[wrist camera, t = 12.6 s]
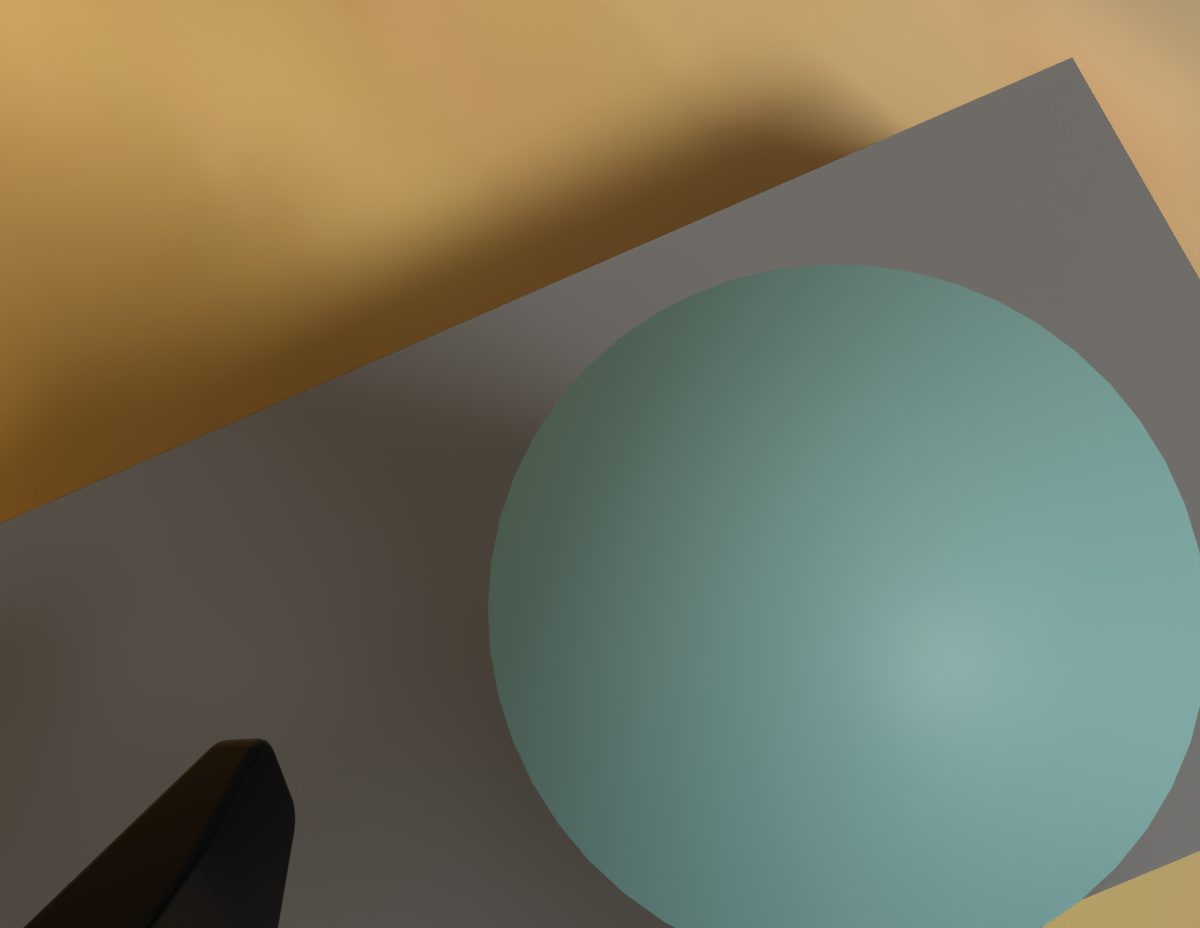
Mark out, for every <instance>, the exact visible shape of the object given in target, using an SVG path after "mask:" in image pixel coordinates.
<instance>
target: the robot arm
mask: <svg viewBox="0 0 1200 928" xmlns="http://www.w3.org/2000/svg"><path fill="white" fill-rule="evenodd" d="M294 831H295V807H294V802H293V799H292V796H291V794H290V791H289V788H288V786H287V783H286V781H285V778H284V775H283V773H282V770H281V768H280V765H279V762H278V760H277V757H276V755H275V752H274V750H273V748H272V746H271V745H270V744H269V743H268V742H267V741H266V740H264V739H260V738H257V739H233V740H223V741H220V742H218V743H216V744H215V745H213V746H212V747H211V748H210V749H208V750H207V751H206V752H205V753H204V754H203V755H202V756H201V757H200V758H199V759H198V760H197V761H196V762H195V763H194V764H193V765H192V766H191V767H190V768H189V769H188V770H187V771H186V772H185V773H183V774H182V775H181V776H180V777H179V778H178V779H177V780H176V781H175V782H174V783H173V784H172V785H171V786H170V787H169V788H168V789H167V790H166V791H165V792H164V793H163V794H162V795H161V796H160V797H159V798H157V799H156V800H155V801H154V802H153V803H152V804H151V805H150V806H149V807H148V808H147V809H146V810H145V811H144V812H143V813H142V814H141V815H140V816H139V817H138V818H137V819H136V820H135V821H134V822H132V823H131V824H130V825H129V826H128V827H127V828H126V829H125V830H124V831H123V832H122V833H121V834H120V835H119V836H118V837H117V838H116V839H115V840H114V841H113V842H112V843H111V844H110V845H109V846H108V847H106V848H105V849H104V850H103V851H102V852H101V853H100V854H99V855H98V856H97V857H96V858H95V859H94V860H93V861H92V862H91V863H90V864H89V865H88V866H87V867H86V868H85V869H84V870H83V871H82V872H80V873H79V874H78V875H77V876H76V877H75V878H74V879H73V880H72V881H71V882H70V883H69V884H68V885H67V886H66V887H65V888H64V889H63V890H62V891H61V892H60V893H59V894H58V895H57V896H56V897H54V898H53V899H52V900H51V901H50V902H49V903H48V904H47V905H46V906H45V907H44V908H43V909H42V910H41V911H40V912H39V913H38V914H37V915H36V916H35V917H34V918H33V919H32V920H31V921H30V922H28V923H27V924H26V925H25V926H24V927H23V928H278V926H279V920H280V914H281V909H282V903H283V897H284V891H285V885H286V879H287V873H288V867H289V861H290V855H291V849H292V844H293V838H294Z"/></svg>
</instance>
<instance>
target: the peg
mask: <svg viewBox="0 0 1200 928" xmlns="http://www.w3.org/2000/svg"><path fill="white" fill-rule="evenodd" d="M488 618H489V636H490V653H491V658H492V663H493V669H494V674H495V680H496V685H497V691H498V696H499V699H500V703H501V706H502V709H503V712H504V715H505V718H506V721H507V725H508V728H509V731H510V734H511V737H512V740H513V742H514V745H515V747H516V749H517V751H518V753H519V755H520V757H521V760H522V762H523V764H524V766H525V768H526V770H527V772H528V775H529V777H530V779H531V781H532V783H533V785H534V786H535V788H536V789H537V791H538V793H539V794H540V796H541V797H542V799H543V801H544V802H545V804H546V805H547V807H548V808H549V810H550V812H551V813H552V815H553V816H554V818H555V820H556V821H557V823H558V824H559V825H560V826H561V828H562V829H563V830H564V831H565V832H566V834H567V835H568V836H569V837H570V838H571V840H572V841H573V842H574V843H575V845H576V846H577V847H578V848H579V849H580V851H581V852H582V853H583V854H584V855H585V857H586V858H587V859H588V860H589V861H590V862H591V863H592V864H593V865H594V866H595V867H596V868H597V869H599V870H600V871H601V872H602V873H603V874H604V875H605V876H606V877H607V878H608V879H609V880H610V881H611V882H612V883H614V884H615V885H616V886H617V887H618V888H619V889H620V890H621V891H622V892H623V893H624V894H626V895H627V896H629V897H630V898H631V899H633V900H634V901H636V902H637V903H638V904H640V905H641V906H643V907H644V908H645V909H647V910H648V911H650V912H651V913H652V914H654V915H655V916H657V917H658V918H659V919H661V920H662V921H664V922H666V923H667V924H669V925H671V926H673V927H675V928H1041V927H1043V926H1044V925H1046V924H1047V923H1049V922H1050V921H1052V920H1053V919H1054V918H1056V917H1057V916H1059V915H1060V914H1062V913H1063V912H1065V911H1066V910H1067V909H1069V908H1070V907H1072V906H1073V905H1075V904H1076V903H1078V902H1079V901H1080V900H1081V899H1083V898H1084V897H1085V896H1086V895H1087V894H1088V893H1089V892H1090V891H1091V890H1092V889H1093V888H1094V887H1096V886H1097V885H1098V884H1099V883H1100V882H1101V881H1102V880H1103V879H1104V878H1105V877H1106V876H1107V875H1108V874H1110V873H1111V872H1112V871H1113V870H1114V869H1115V868H1116V867H1117V866H1118V864H1119V863H1120V862H1121V861H1122V859H1123V858H1124V857H1125V856H1126V855H1127V853H1128V852H1129V851H1130V850H1131V848H1132V847H1133V846H1134V845H1135V843H1136V842H1137V841H1138V840H1139V838H1140V837H1141V836H1142V835H1143V834H1144V832H1145V831H1146V830H1147V828H1148V827H1149V825H1150V823H1151V822H1152V820H1153V818H1154V817H1155V815H1156V813H1157V811H1158V810H1159V808H1160V806H1161V805H1162V803H1163V801H1164V800H1165V798H1166V796H1167V795H1168V793H1169V791H1170V790H1171V788H1172V786H1173V783H1174V781H1175V779H1176V776H1177V774H1178V771H1179V769H1180V767H1181V764H1182V762H1183V759H1184V757H1185V755H1186V752H1187V750H1188V747H1189V745H1190V743H1191V739H1192V735H1193V731H1194V727H1195V723H1196V719H1197V715H1198V712H1199V708H1200V553H1199V549H1198V545H1197V542H1196V539H1195V536H1194V532H1193V529H1192V526H1191V522H1190V519H1189V516H1188V513H1187V509H1186V506H1185V503H1184V501H1183V499H1182V497H1181V495H1180V492H1179V490H1178V488H1177V486H1176V484H1175V481H1174V479H1173V477H1172V475H1171V473H1170V470H1169V468H1168V466H1167V464H1166V462H1165V460H1164V458H1163V457H1162V455H1161V453H1160V452H1159V450H1158V449H1157V447H1156V445H1155V444H1154V442H1153V441H1152V439H1151V437H1150V436H1149V434H1148V433H1147V431H1146V429H1145V428H1144V426H1143V425H1142V423H1141V421H1140V420H1139V419H1138V418H1137V416H1136V415H1135V414H1134V413H1133V411H1132V410H1131V409H1130V408H1129V406H1128V405H1127V404H1126V403H1125V402H1124V400H1123V399H1122V398H1121V397H1120V395H1119V394H1118V393H1117V392H1116V391H1115V389H1114V388H1113V387H1112V386H1111V384H1110V383H1109V382H1108V381H1106V380H1105V379H1104V378H1103V377H1102V376H1101V375H1100V374H1099V373H1098V372H1097V371H1096V370H1095V369H1094V368H1093V367H1092V366H1091V365H1090V364H1089V363H1088V362H1086V361H1085V360H1084V359H1083V358H1082V357H1081V356H1080V355H1079V354H1078V353H1077V352H1076V351H1075V350H1073V349H1072V348H1071V347H1069V346H1068V345H1066V344H1065V343H1064V342H1062V341H1061V340H1060V339H1058V338H1057V337H1056V336H1054V335H1053V334H1052V333H1050V332H1049V331H1047V330H1046V329H1045V328H1043V327H1042V326H1041V325H1039V324H1038V323H1036V322H1034V321H1033V320H1031V319H1029V318H1027V317H1025V316H1024V315H1022V314H1020V313H1018V312H1016V311H1015V310H1013V309H1011V308H1009V307H1008V306H1006V305H1004V304H1002V303H1000V302H999V301H997V300H994V299H992V298H989V297H987V296H984V295H982V294H979V293H977V292H974V291H972V290H970V289H967V288H965V287H962V286H960V285H957V284H955V283H951V282H947V281H944V280H940V279H936V278H933V277H929V276H925V275H922V274H918V273H914V272H910V271H903V270H896V269H889V268H882V267H875V266H868V265H823V264H821V265H811V266H802V267H793V268H783V269H776V270H771V271H767V272H763V273H758V274H754V275H750V276H746V277H741V278H737V279H733V280H730V281H728V282H725V283H722V284H720V285H717V286H714V287H712V288H709V289H706V290H703V291H701V292H698V293H695V294H693V295H691V296H689V297H687V298H685V299H683V300H681V301H679V302H677V303H675V304H673V305H672V306H670V307H668V308H666V309H664V310H662V311H660V312H658V313H656V314H654V315H653V316H651V317H650V318H648V319H647V320H645V321H644V322H643V323H641V324H640V325H638V326H637V327H635V328H634V329H632V330H631V331H630V332H628V333H627V334H625V335H624V336H622V337H621V338H619V339H618V340H617V341H616V342H615V343H614V344H613V345H611V346H610V347H609V348H608V349H607V350H606V351H605V352H604V353H602V354H601V355H600V356H599V357H598V358H597V359H596V360H595V361H594V362H592V363H591V364H590V365H589V366H588V367H587V368H586V369H585V370H584V371H583V372H582V374H581V375H580V376H579V377H578V378H577V379H576V380H575V382H574V383H573V384H572V385H571V386H570V387H569V389H568V390H567V391H566V392H565V393H564V394H563V396H562V397H561V398H560V399H559V400H558V401H557V403H556V404H555V406H554V407H553V409H552V410H551V412H550V413H549V415H548V416H547V418H546V419H545V421H544V423H543V424H542V426H541V427H540V429H539V430H538V432H537V433H536V435H535V436H534V438H533V440H532V442H531V444H530V446H529V448H528V450H527V452H526V454H525V456H524V458H523V460H522V462H521V464H520V466H519V468H518V470H517V472H516V474H515V476H514V479H513V482H512V485H511V488H510V491H509V494H508V497H507V499H506V502H505V505H504V508H503V511H502V514H501V517H500V521H499V526H498V531H497V536H496V541H495V546H494V550H493V555H492V560H491V571H490V584H489V598H488Z"/></svg>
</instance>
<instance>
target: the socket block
mask: <svg viewBox="0 0 1200 928" xmlns="http://www.w3.org/2000/svg"><path fill="white" fill-rule="evenodd" d="M821 264H823V265H868V266H875V267H882V268H889V269H896V270H903V271H910V272H914V273H918V274H922V275H925V276H929V277H933V278H936V279H940V280H944V281H947V282H951V283H955V284H957V285H960V286H962V287H965V288H967V289H970V290H972V291H974V292H977V293H979V294H982V295H984V296H987V297H989V298H992V299H994V300H997V301H999V302H1000V303H1002V304H1004V305H1006V306H1008V307H1009V308H1011V309H1013V310H1015V311H1016V312H1018V313H1020V314H1022V315H1024V316H1025V317H1027V318H1029V319H1031V320H1033V321H1034V322H1036V323H1038V324H1039V325H1041V326H1042V327H1043V328H1045V329H1046V330H1047V331H1049V332H1050V333H1052V334H1053V335H1054V336H1056V337H1057V338H1058V339H1060V340H1061V341H1062V342H1064V343H1065V344H1066V345H1068V346H1069V347H1071V348H1072V349H1073V350H1075V351H1076V352H1077V353H1078V354H1079V355H1080V356H1081V357H1082V358H1083V359H1084V360H1085V361H1086V362H1088V363H1089V364H1090V365H1091V366H1092V367H1093V368H1094V369H1095V370H1096V371H1097V372H1098V373H1099V374H1100V375H1101V376H1102V377H1103V378H1104V379H1105V380H1106V381H1108V382H1109V383H1110V384H1111V386H1112V387H1113V388H1114V389H1115V391H1116V392H1117V393H1118V394H1119V395H1120V397H1121V398H1122V399H1123V400H1124V402H1125V403H1126V404H1127V405H1128V406H1129V408H1130V409H1131V410H1132V411H1133V413H1134V414H1135V415H1136V416H1137V418H1138V419H1139V420H1140V421H1141V423H1142V425H1143V426H1144V428H1145V429H1146V431H1147V433H1148V434H1149V436H1150V437H1151V439H1152V441H1153V442H1154V444H1155V445H1156V447H1157V449H1158V450H1159V452H1160V453H1161V455H1162V457H1163V458H1164V460H1165V462H1166V464H1167V466H1168V468H1169V470H1170V473H1171V475H1172V477H1173V479H1174V481H1175V484H1176V486H1177V488H1178V490H1179V492H1180V495H1181V497H1182V499H1183V501H1184V503H1185V506H1186V509H1187V513H1188V516H1189V519H1190V522H1191V526H1192V529H1193V532H1194V536H1195V539H1196V542H1197V545H1198V549H1199V553H1200V279H1199V278H1198V276H1197V274H1196V272H1195V271H1194V269H1193V267H1192V265H1191V264H1190V262H1189V260H1188V259H1187V257H1186V255H1185V253H1184V252H1183V250H1182V248H1181V246H1180V245H1179V243H1178V241H1177V239H1176V238H1175V236H1174V234H1173V232H1172V231H1171V229H1170V227H1169V225H1168V224H1167V222H1166V220H1165V218H1164V217H1163V215H1162V213H1161V211H1160V210H1159V208H1158V206H1157V204H1156V203H1155V201H1154V199H1153V197H1152V196H1151V194H1150V192H1149V191H1148V189H1147V187H1146V185H1145V184H1144V182H1143V180H1142V178H1141V177H1140V175H1139V173H1138V171H1137V170H1136V168H1135V166H1134V164H1133V163H1132V161H1131V159H1130V157H1129V156H1128V154H1127V152H1126V150H1125V149H1124V147H1123V145H1122V143H1121V142H1120V140H1119V138H1118V136H1117V135H1116V133H1115V131H1114V130H1113V128H1112V126H1111V124H1110V123H1109V121H1108V119H1107V117H1106V116H1105V114H1104V112H1103V110H1102V109H1101V107H1100V105H1099V103H1098V102H1097V100H1096V98H1095V96H1094V95H1093V93H1092V91H1091V89H1090V88H1089V86H1088V84H1087V82H1086V81H1085V79H1084V77H1083V75H1082V74H1081V72H1080V70H1079V68H1078V67H1077V65H1076V63H1075V62H1074V60H1073V58H1070V59H1068V60H1065V61H1063V62H1061V63H1058V64H1056V65H1054V66H1052V67H1049V68H1047V69H1045V70H1042V71H1040V72H1038V73H1035V74H1033V75H1031V76H1029V77H1026V78H1024V79H1022V80H1019V81H1017V82H1015V83H1012V84H1010V85H1008V86H1006V87H1003V88H1001V89H999V90H996V91H994V92H992V93H989V94H987V95H985V96H983V97H980V98H978V99H976V100H973V101H971V102H969V103H966V104H964V105H962V106H960V107H957V108H955V109H953V110H950V111H948V112H946V113H943V114H941V115H939V116H937V117H934V118H932V119H930V120H927V121H925V122H923V123H920V124H918V125H916V126H914V127H911V128H909V129H907V130H904V131H902V132H900V133H897V134H895V135H893V136H891V137H888V138H886V139H884V140H881V141H879V142H877V143H874V144H872V145H870V146H868V147H865V148H863V149H861V150H858V151H856V152H854V153H851V154H849V155H847V156H845V157H842V158H840V159H838V160H835V161H833V162H831V163H828V164H826V165H824V166H822V167H819V168H817V169H815V170H812V171H810V172H808V173H805V174H803V175H801V176H799V177H796V178H794V179H792V180H789V181H787V182H785V183H783V184H780V185H778V186H776V187H773V188H771V189H769V190H766V191H764V192H762V193H760V194H757V195H755V196H753V197H750V198H748V199H746V200H743V201H741V202H739V203H737V204H734V205H732V206H730V207H727V208H725V209H723V210H720V211H718V212H716V213H714V214H711V215H709V216H707V217H704V218H702V219H700V220H697V221H695V222H693V223H691V224H688V225H686V226H684V227H681V228H679V229H677V230H674V231H672V232H670V233H668V234H665V235H663V236H661V237H658V238H656V239H654V240H651V241H649V242H647V243H645V244H642V245H640V246H638V247H635V248H633V249H631V250H628V251H626V252H624V253H622V254H619V255H617V256H615V257H612V258H610V259H608V260H605V261H603V262H601V263H599V264H596V265H594V266H592V267H589V268H587V269H585V270H582V271H580V272H578V273H576V274H573V275H571V276H569V277H566V278H564V279H562V280H559V281H557V282H555V283H553V284H550V285H548V286H546V287H543V288H541V289H539V290H536V291H534V292H532V293H530V294H527V295H525V296H523V297H520V298H518V299H516V300H513V301H511V302H509V303H507V304H504V305H502V306H500V307H497V308H495V309H493V310H490V311H488V312H486V313H484V314H481V315H479V316H477V317H474V318H472V319H470V320H467V321H465V322H463V323H461V324H458V325H456V326H454V327H451V328H449V329H447V330H444V331H442V332H440V333H438V334H435V335H433V336H431V337H428V338H426V339H424V340H421V341H419V342H417V343H415V344H412V345H410V346H408V347H405V348H403V349H401V350H399V351H396V352H394V353H392V354H389V355H387V356H385V357H382V358H380V359H378V360H376V361H373V362H371V363H369V364H366V365H364V366H362V367H359V368H357V369H355V370H353V371H350V372H348V373H346V374H343V375H341V376H339V377H336V378H334V379H332V380H330V381H327V382H325V383H323V384H320V385H318V386H316V387H313V388H311V389H309V390H307V391H304V392H302V393H300V394H297V395H295V396H293V397H290V398H288V399H286V400H284V401H281V402H279V403H277V404H274V405H272V406H270V407H267V408H265V409H263V410H261V411H258V412H256V413H254V414H251V415H249V416H247V417H244V418H242V419H240V420H238V421H235V422H233V423H231V424H228V425H226V426H224V427H221V428H219V429H217V430H215V431H212V432H210V433H208V434H205V435H203V436H201V437H198V438H196V439H194V440H192V441H189V442H187V443H185V444H182V445H180V446H178V447H175V448H173V449H171V450H169V451H166V452H164V453H162V454H159V455H157V456H155V457H152V458H150V459H148V460H146V461H143V462H141V463H139V464H136V465H134V466H132V467H129V468H127V469H125V470H123V471H120V472H118V473H116V474H113V475H111V476H109V477H106V478H104V479H102V480H100V481H97V482H95V483H93V484H90V485H88V486H86V487H83V488H81V489H79V490H77V491H74V492H72V493H70V494H67V495H65V496H63V497H60V498H58V499H56V500H54V501H51V502H49V503H47V504H44V505H42V506H40V507H37V508H35V509H33V510H31V511H28V512H26V513H24V514H21V515H19V516H17V517H14V518H12V519H10V520H8V521H5V522H3V523H1V524H0V928H23V927H24V926H25V925H26V924H27V923H28V922H30V921H31V920H32V919H33V918H34V917H35V916H36V915H37V914H38V913H39V912H40V911H41V910H42V909H43V908H44V907H45V906H46V905H47V904H48V903H49V902H50V901H51V900H52V899H53V898H54V897H56V896H57V895H58V894H59V893H60V892H61V891H62V890H63V889H64V888H65V887H66V886H67V885H68V884H69V883H70V882H71V881H72V880H73V879H74V878H75V877H76V876H77V875H78V874H79V873H80V872H82V871H83V870H84V869H85V868H86V867H87V866H88V865H89V864H90V863H91V862H92V861H93V860H94V859H95V858H96V857H97V856H98V855H99V854H100V853H101V852H102V851H103V850H104V849H105V848H106V847H108V846H109V845H110V844H111V843H112V842H113V841H114V840H115V839H116V838H117V837H118V836H119V835H120V834H121V833H122V832H123V831H124V830H125V829H126V828H127V827H128V826H129V825H130V824H131V823H132V822H134V821H135V820H136V819H137V818H138V817H139V816H140V815H141V814H142V813H143V812H144V811H145V810H146V809H147V808H148V807H149V806H150V805H151V804H152V803H153V802H154V801H155V800H156V799H157V798H159V797H160V796H161V795H162V794H163V793H164V792H165V791H166V790H167V789H168V788H169V787H170V786H171V785H172V784H173V783H174V782H175V781H176V780H177V779H178V778H179V777H180V776H181V775H182V774H183V773H185V772H186V771H187V770H188V769H189V768H190V767H191V766H192V765H193V764H194V763H195V762H196V761H197V760H198V759H199V758H200V757H201V756H202V755H203V754H204V753H205V752H206V751H207V750H208V749H210V748H211V747H212V746H213V745H215V744H216V743H218V742H220V741H223V740H233V739H257V738H260V739H264V740H266V741H267V742H268V743H269V744H270V745H271V746H272V748H273V750H274V752H275V755H276V757H277V760H278V762H279V765H280V768H281V770H282V773H283V775H284V778H285V781H286V783H287V786H288V788H289V791H290V794H291V796H292V799H293V802H294V807H295V831H294V838H293V844H292V849H291V855H290V861H289V867H288V873H287V879H286V885H285V891H284V897H283V903H282V909H281V914H280V920H279V926H278V928H675V927H673V926H671V925H669V924H667V923H666V922H664V921H662V920H661V919H659V918H658V917H657V916H655V915H654V914H652V913H651V912H650V911H648V910H647V909H645V908H644V907H643V906H641V905H640V904H638V903H637V902H636V901H634V900H633V899H631V898H630V897H629V896H627V895H626V894H624V893H623V892H622V891H621V890H620V889H619V888H618V887H617V886H616V885H615V884H614V883H612V882H611V881H610V880H609V879H608V878H607V877H606V876H605V875H604V874H603V873H602V872H601V871H600V870H599V869H597V868H596V867H595V866H594V865H593V864H592V863H591V862H590V861H589V860H588V859H587V858H586V857H585V855H584V854H583V853H582V852H581V851H580V849H579V848H578V847H577V846H576V845H575V843H574V842H573V841H572V840H571V838H570V837H569V836H568V835H567V834H566V832H565V831H564V830H563V829H562V828H561V826H560V825H559V824H558V823H557V821H556V820H555V818H554V816H553V815H552V813H551V812H550V810H549V808H548V807H547V805H546V804H545V802H544V801H543V799H542V797H541V796H540V794H539V793H538V791H537V789H536V788H535V786H534V785H533V783H532V781H531V779H530V777H529V775H528V772H527V770H526V768H525V766H524V764H523V762H522V760H521V757H520V755H519V753H518V751H517V749H516V747H515V745H514V742H513V740H512V737H511V734H510V731H509V728H508V725H507V721H506V718H505V715H504V712H503V709H502V706H501V703H500V699H499V696H498V691H497V685H496V680H495V674H494V669H493V663H492V658H491V653H490V636H489V618H488V598H489V584H490V571H491V560H492V555H493V550H494V546H495V541H496V536H497V531H498V526H499V521H500V517H501V514H502V511H503V508H504V505H505V502H506V499H507V497H508V494H509V491H510V488H511V485H512V482H513V479H514V476H515V474H516V472H517V470H518V468H519V466H520V464H521V462H522V460H523V458H524V456H525V454H526V452H527V450H528V448H529V446H530V444H531V442H532V440H533V438H534V436H535V435H536V433H537V432H538V430H539V429H540V427H541V426H542V424H543V423H544V421H545V419H546V418H547V416H548V415H549V413H550V412H551V410H552V409H553V407H554V406H555V404H556V403H557V401H558V400H559V399H560V398H561V397H562V396H563V394H564V393H565V392H566V391H567V390H568V389H569V387H570V386H571V385H572V384H573V383H574V382H575V380H576V379H577V378H578V377H579V376H580V375H581V374H582V372H583V371H584V370H585V369H586V368H587V367H588V366H589V365H590V364H591V363H592V362H594V361H595V360H596V359H597V358H598V357H599V356H600V355H601V354H602V353H604V352H605V351H606V350H607V349H608V348H609V347H610V346H611V345H613V344H614V343H615V342H616V341H617V340H618V339H619V338H621V337H622V336H624V335H625V334H627V333H628V332H630V331H631V330H632V329H634V328H635V327H637V326H638V325H640V324H641V323H643V322H644V321H645V320H647V319H648V318H650V317H651V316H653V315H654V314H656V313H658V312H660V311H662V310H664V309H666V308H668V307H670V306H672V305H673V304H675V303H677V302H679V301H681V300H683V299H685V298H687V297H689V296H691V295H693V294H695V293H698V292H701V291H703V290H706V289H709V288H712V287H714V286H717V285H720V284H722V283H725V282H728V281H730V280H733V279H737V278H741V277H746V276H750V275H754V274H758V273H763V272H767V271H771V270H776V269H783V268H793V267H802V266H811V265H821ZM1198 851H1200V708H1199V712H1198V715H1197V719H1196V723H1195V727H1194V731H1193V735H1192V739H1191V743H1190V745H1189V747H1188V750H1187V752H1186V755H1185V757H1184V759H1183V762H1182V764H1181V767H1180V769H1179V771H1178V774H1177V776H1176V779H1175V781H1174V783H1173V786H1172V788H1171V790H1170V791H1169V793H1168V795H1167V796H1166V798H1165V800H1164V801H1163V803H1162V805H1161V806H1160V808H1159V810H1158V811H1157V813H1156V815H1155V817H1154V818H1153V820H1152V822H1151V823H1150V825H1149V827H1148V828H1147V830H1146V831H1145V832H1144V834H1143V835H1142V836H1141V837H1140V838H1139V840H1138V841H1137V842H1136V843H1135V845H1134V846H1133V847H1132V848H1131V850H1130V851H1129V852H1128V853H1127V855H1126V856H1125V857H1124V858H1123V859H1122V861H1121V862H1120V863H1119V864H1118V866H1117V867H1116V868H1115V869H1114V870H1113V871H1112V872H1111V873H1110V874H1108V875H1107V876H1106V877H1105V878H1104V879H1103V880H1102V881H1101V882H1100V883H1099V884H1098V885H1097V886H1096V887H1094V888H1093V889H1092V890H1091V891H1090V892H1089V893H1088V894H1087V895H1086V896H1085V897H1084V898H1087V897H1089V896H1092V895H1094V894H1096V893H1099V892H1101V891H1104V890H1106V889H1108V888H1111V887H1113V886H1116V885H1118V884H1121V883H1123V882H1125V881H1128V880H1130V879H1133V878H1135V877H1137V876H1140V875H1142V874H1145V873H1147V872H1150V871H1152V870H1154V869H1157V868H1159V867H1162V866H1164V865H1166V864H1169V863H1171V862H1174V861H1176V860H1178V859H1181V858H1183V857H1186V856H1188V855H1191V854H1193V853H1195V852H1198ZM1084 898H1083V899H1084ZM1081 900H1082V899H1081Z"/></svg>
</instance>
